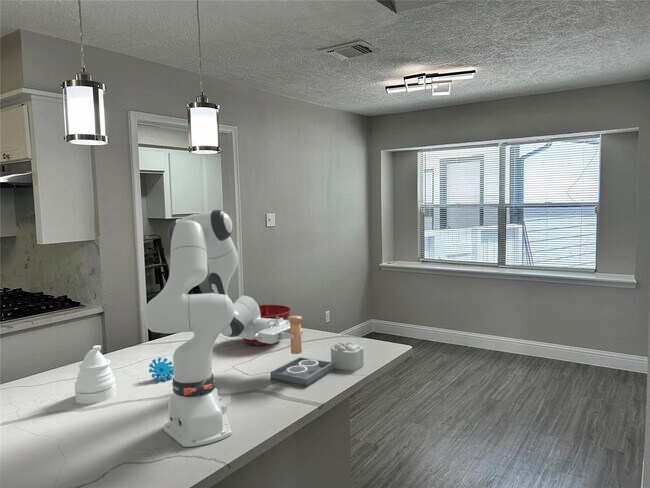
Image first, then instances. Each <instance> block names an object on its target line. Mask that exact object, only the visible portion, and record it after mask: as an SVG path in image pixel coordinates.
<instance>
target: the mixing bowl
mask: <svg viewBox="0 0 650 488" xmlns="http://www.w3.org/2000/svg"><path fill="white" fill-rule="evenodd" d="M259 307H260V312H261V318H266V319H268V318H270V319H275V318H283V320H288V317H289V316H291V312H292V308H291V307H290V306H287V305H283V304H282V305H281V304H259ZM242 339H243V340H244V341H245V342H246V343H248V344H249V345H252V346H266V345H267V346H268V345H269V344H268V343H263V342H260V341H258V340H256V339H253V340H250V339H244V338H242Z"/></svg>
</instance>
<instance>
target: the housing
mask: <svg viewBox="0 0 650 488" xmlns="http://www.w3.org/2000/svg"><path fill="white" fill-rule="evenodd" d="M334 371H335V367H334V362H331V361H328V360H321V359H314V358H309V357H303V356H298V357H297V358H295V359H293V360H291V361H289V362H287V363H285V364H284V365H282V366H280V367H278V368H276V369H274V370H272V371H270V373H269V375H270V376H269V377H270V381H272V382H273V381H274V382H279V383H284V384H289V385H295V386H299V387H304V388H309V387H310V386H312V385H313V384H315V383H316V382H317V381H319V380H321V379H323V378H324V377H325V376H327V375H328V374H330V373H331V372H334Z"/></svg>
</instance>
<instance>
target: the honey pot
mask: <svg viewBox="0 0 650 488" xmlns="http://www.w3.org/2000/svg"><path fill="white" fill-rule="evenodd" d="M101 350H102V345H98V344H97V345H94V346H92V349H90V350H89V351H88V352H87V353H86V354H85V356H84V358H83V360H82V362H81V363H80V364H79V365H78V368H79V371H78V373H77V375H76V376H77V377H76V380H75V381H76V382H75V383H74V395H75V402H76V403H78V404H81V405H82V404H83V405H89V404H91V403H92V404H97V403H102V402H106V401H108V400H111V399H112V398H114V397H115V396H117V386H116V385H117V384H116V377H115V376H114V373H113V372H112V369H111V367H110V365H111V363H112V362H111V360H110V359H108V358H105V357H104V355H103V353H101ZM92 404H91V405H92Z"/></svg>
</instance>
